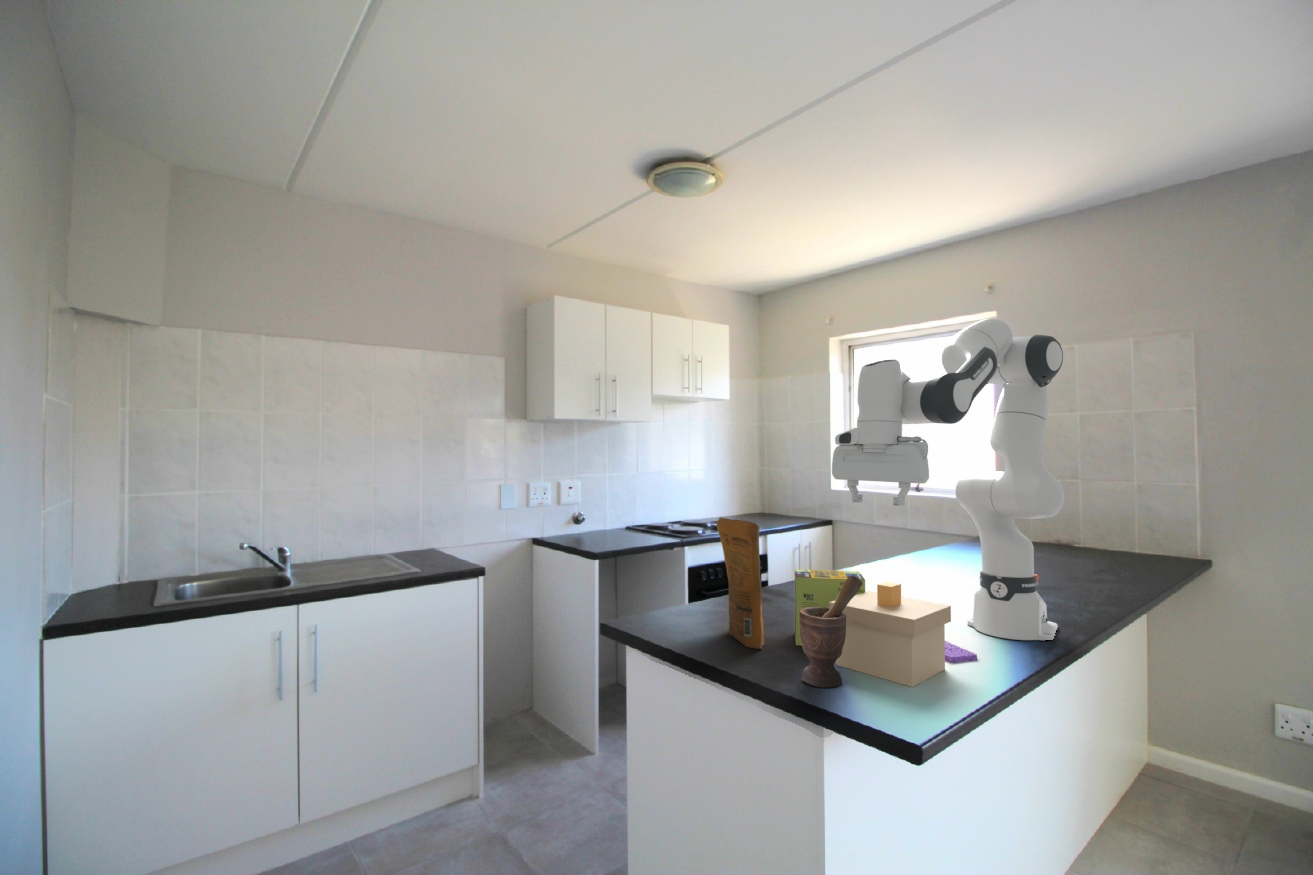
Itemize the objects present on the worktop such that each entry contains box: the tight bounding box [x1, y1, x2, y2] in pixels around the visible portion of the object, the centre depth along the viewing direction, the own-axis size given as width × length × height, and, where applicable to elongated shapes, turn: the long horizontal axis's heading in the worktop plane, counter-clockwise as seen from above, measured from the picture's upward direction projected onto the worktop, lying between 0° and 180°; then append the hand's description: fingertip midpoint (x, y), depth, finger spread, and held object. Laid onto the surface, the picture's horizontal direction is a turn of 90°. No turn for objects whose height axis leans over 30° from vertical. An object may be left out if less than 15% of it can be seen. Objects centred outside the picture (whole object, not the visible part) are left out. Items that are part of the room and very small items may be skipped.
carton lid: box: [829, 581, 952, 637], centre depth 124 cm, size 16×18×7 cm
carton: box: [835, 621, 946, 688], centre depth 124 cm, size 14×16×12 cm
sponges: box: [945, 640, 978, 663], centre depth 134 cm, size 7×13×2 cm, turn 15°
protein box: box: [794, 569, 866, 647], centre depth 142 cm, size 10×15×16 cm
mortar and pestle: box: [800, 575, 862, 688], centre depth 117 cm, size 12×9×20 cm
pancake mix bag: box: [716, 517, 765, 650], centre depth 143 cm, size 7×19×28 cm, turn 16°
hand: (877, 503), depth 126 cm, fingers open, 8 cm apart
